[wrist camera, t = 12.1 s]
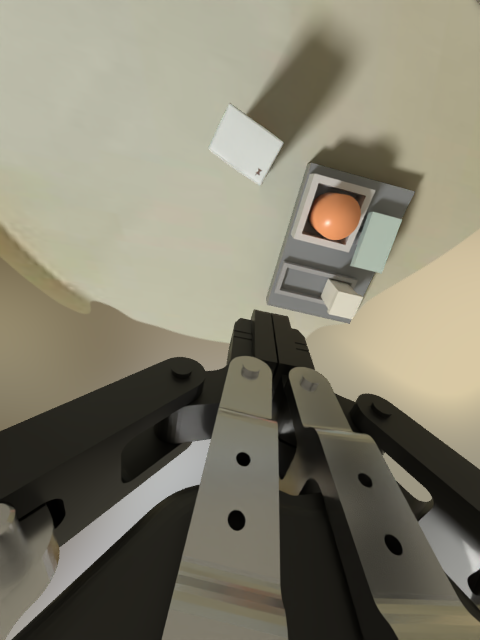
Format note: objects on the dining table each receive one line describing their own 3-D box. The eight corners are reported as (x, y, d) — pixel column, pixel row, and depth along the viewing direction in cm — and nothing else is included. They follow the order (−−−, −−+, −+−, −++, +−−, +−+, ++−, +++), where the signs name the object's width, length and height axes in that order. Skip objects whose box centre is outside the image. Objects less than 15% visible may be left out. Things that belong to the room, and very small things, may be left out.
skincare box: (275, 153, 35) (286, 143, 24) (257, 185, 37) (261, 187, 26) (235, 124, 34) (229, 100, 23) (219, 158, 35) (206, 150, 25)
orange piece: (316, 187, 34) (326, 189, 30) (353, 197, 34) (368, 200, 30) (303, 227, 36) (310, 234, 32) (337, 236, 37) (349, 244, 32)
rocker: (368, 212, 35) (372, 211, 34) (396, 220, 35) (402, 219, 34) (350, 265, 37) (353, 266, 35) (377, 272, 37) (381, 273, 36)
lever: (327, 276, 40) (338, 291, 34) (348, 282, 40) (363, 297, 35) (318, 297, 41) (328, 314, 36) (339, 302, 41) (352, 319, 36)
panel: (307, 163, 35) (316, 161, 30) (405, 190, 36) (429, 192, 31) (266, 298, 44) (268, 313, 40) (344, 316, 46) (356, 333, 41)
